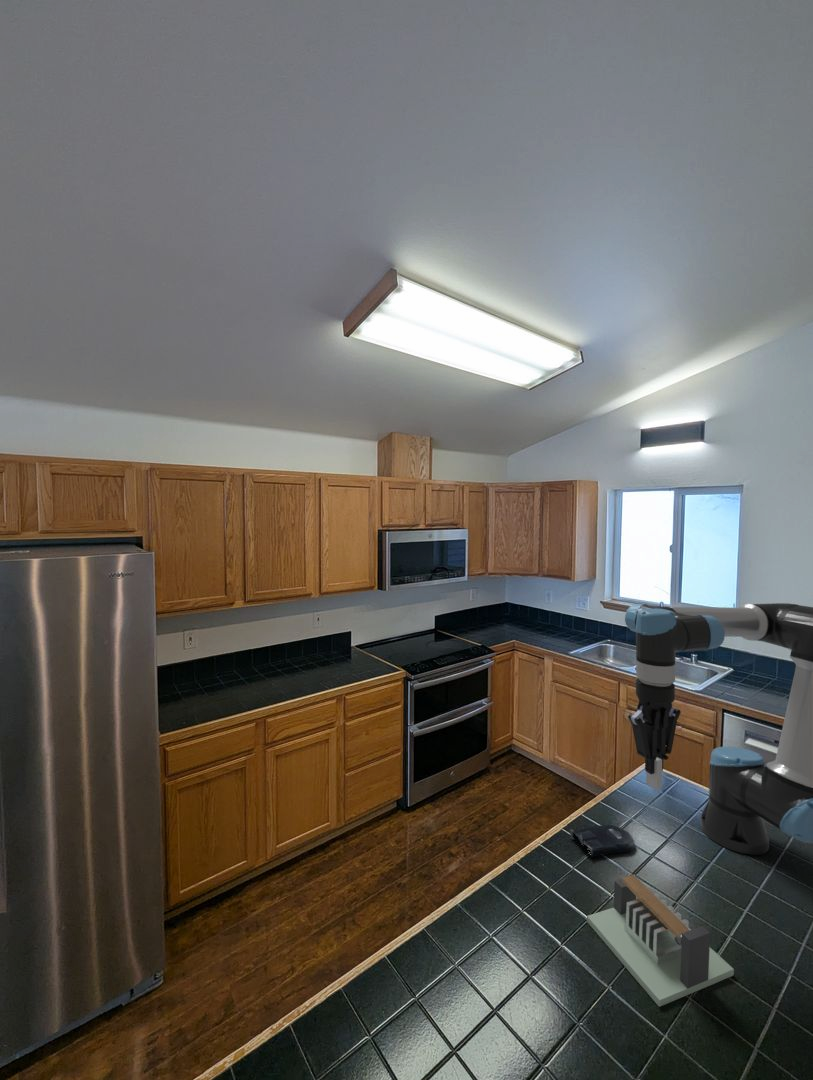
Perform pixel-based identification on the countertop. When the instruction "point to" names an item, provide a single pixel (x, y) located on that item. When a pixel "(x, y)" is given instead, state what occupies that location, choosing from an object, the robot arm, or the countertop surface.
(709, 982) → the board
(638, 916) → the heatsink
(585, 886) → the countertop surface
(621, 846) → the electronic device
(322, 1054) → the countertop surface
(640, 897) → the strap
